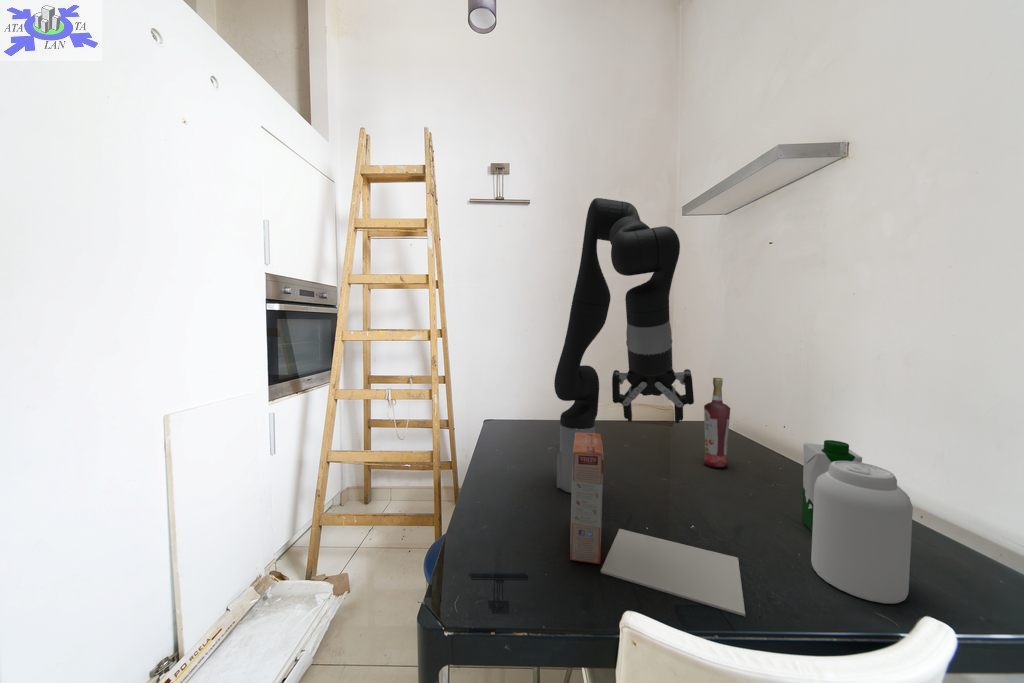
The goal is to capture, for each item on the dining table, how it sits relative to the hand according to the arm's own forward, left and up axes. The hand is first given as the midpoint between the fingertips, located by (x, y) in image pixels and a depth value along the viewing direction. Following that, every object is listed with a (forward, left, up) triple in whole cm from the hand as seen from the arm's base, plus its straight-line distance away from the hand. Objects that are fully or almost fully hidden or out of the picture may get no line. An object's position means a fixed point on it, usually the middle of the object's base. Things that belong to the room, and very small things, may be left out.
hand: (652, 420), depth 74 cm
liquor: (+12, +59, -26) cm, 65 cm away
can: (+33, +8, -26) cm, 43 cm away
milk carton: (+33, +26, -26) cm, 49 cm away
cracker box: (-12, -3, -26) cm, 29 cm away
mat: (+4, -3, -26) cm, 26 cm away
